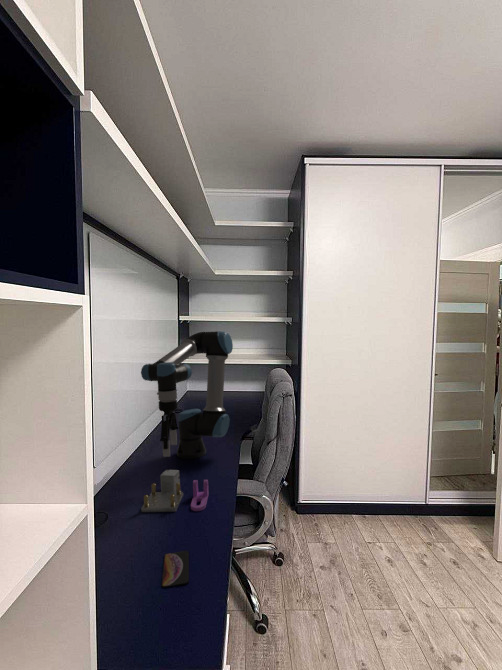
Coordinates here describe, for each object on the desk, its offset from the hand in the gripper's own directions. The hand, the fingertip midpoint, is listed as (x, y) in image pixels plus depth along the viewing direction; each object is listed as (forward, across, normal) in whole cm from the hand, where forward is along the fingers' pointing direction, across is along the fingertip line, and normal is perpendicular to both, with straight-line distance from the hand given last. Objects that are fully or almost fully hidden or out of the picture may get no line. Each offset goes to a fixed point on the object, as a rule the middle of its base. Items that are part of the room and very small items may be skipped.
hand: (170, 450), depth 162 cm
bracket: (+17, +12, +13) cm, 25 cm away
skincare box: (+17, 0, -1) cm, 17 cm away
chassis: (+17, +12, -1) cm, 20 cm away
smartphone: (+17, +51, +12) cm, 55 cm away
